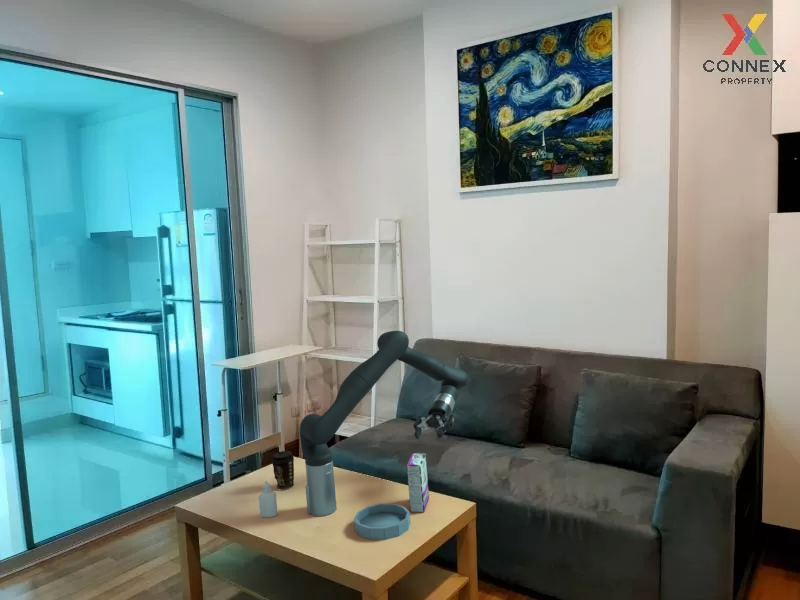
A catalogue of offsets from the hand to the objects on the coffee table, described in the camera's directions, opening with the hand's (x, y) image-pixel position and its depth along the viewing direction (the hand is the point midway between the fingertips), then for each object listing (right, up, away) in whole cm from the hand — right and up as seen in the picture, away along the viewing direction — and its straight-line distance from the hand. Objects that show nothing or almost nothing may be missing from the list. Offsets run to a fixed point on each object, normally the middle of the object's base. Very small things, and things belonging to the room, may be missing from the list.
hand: (427, 436), depth 203 cm
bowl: (-15, -24, -17) cm, 33 cm away
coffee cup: (-53, -24, +21) cm, 62 cm away
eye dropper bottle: (-54, -26, -3) cm, 60 cm away
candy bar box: (-3, -23, -4) cm, 23 cm away
